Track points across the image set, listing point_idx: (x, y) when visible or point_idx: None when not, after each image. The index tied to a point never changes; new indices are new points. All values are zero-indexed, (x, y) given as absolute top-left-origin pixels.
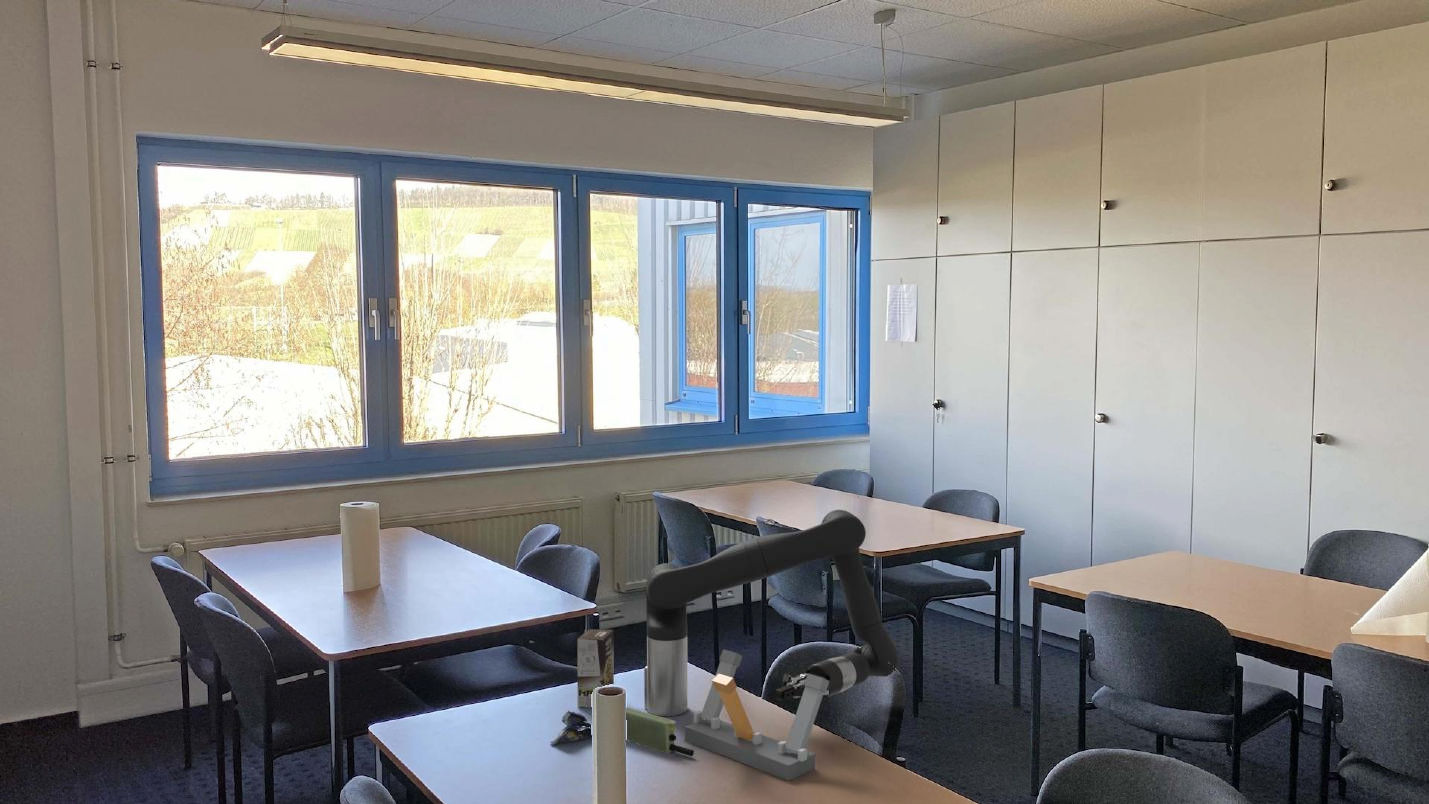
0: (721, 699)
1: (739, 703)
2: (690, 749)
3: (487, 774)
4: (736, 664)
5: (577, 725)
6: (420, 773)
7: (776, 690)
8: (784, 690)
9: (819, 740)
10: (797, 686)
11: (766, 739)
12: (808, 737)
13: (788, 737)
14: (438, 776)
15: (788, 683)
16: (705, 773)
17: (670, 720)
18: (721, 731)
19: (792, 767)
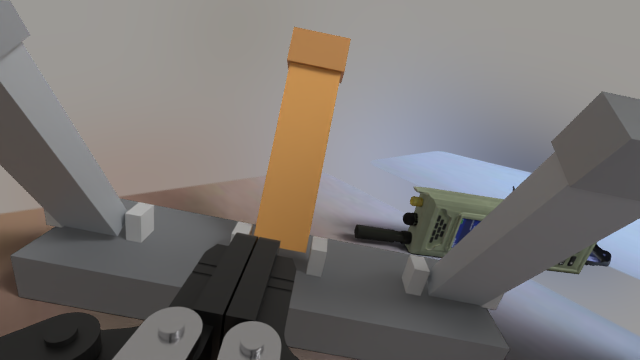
0: (462, 247)
1: (280, 114)
2: (363, 226)
3: (458, 167)
4: (566, 163)
5: (593, 249)
6: (487, 162)
7: (278, 241)
8: (228, 247)
9: None
10: (143, 322)
11: None
12: (32, 193)
13: (117, 197)
14: (473, 161)
15: (261, 334)
16: None
17: (431, 191)
18: (376, 275)
19: None
